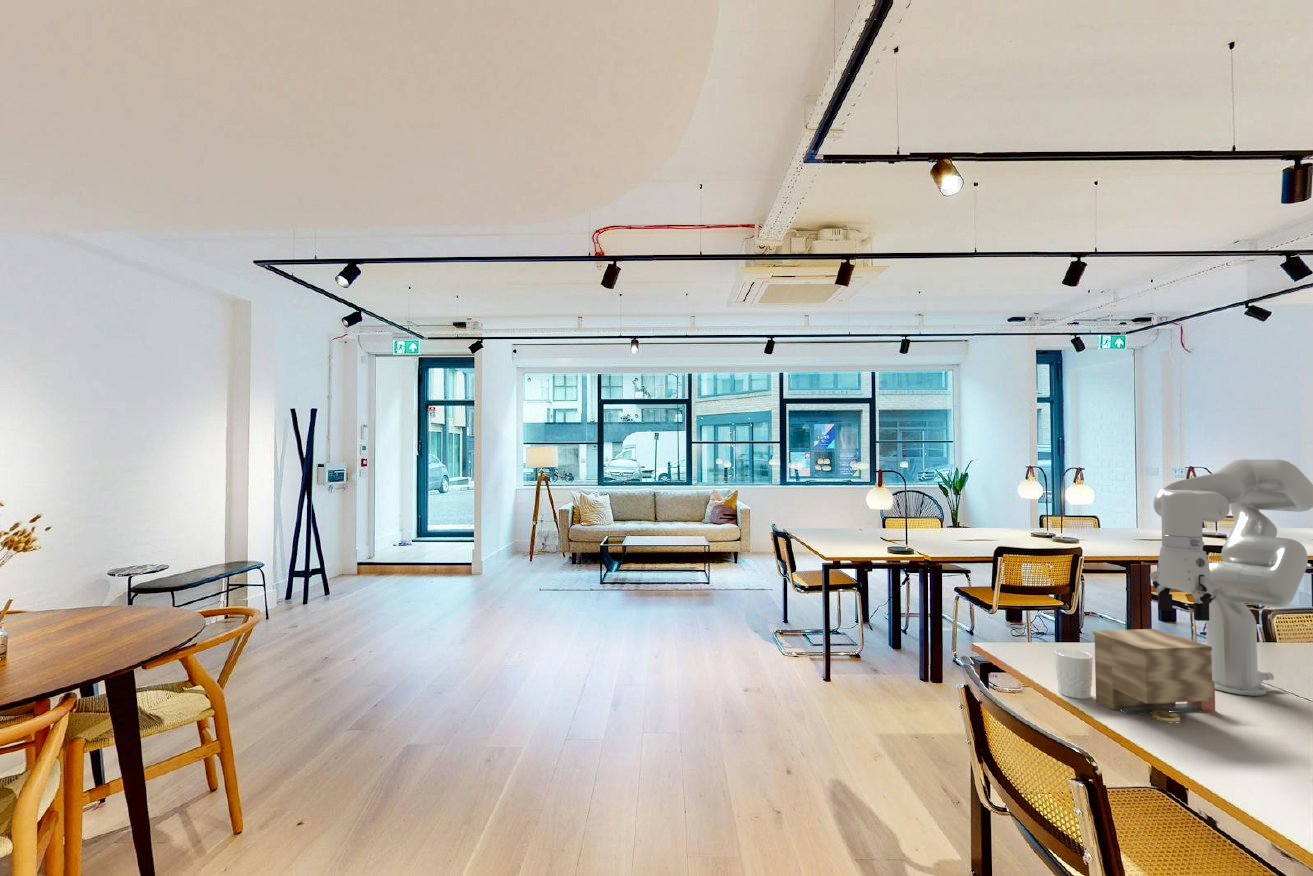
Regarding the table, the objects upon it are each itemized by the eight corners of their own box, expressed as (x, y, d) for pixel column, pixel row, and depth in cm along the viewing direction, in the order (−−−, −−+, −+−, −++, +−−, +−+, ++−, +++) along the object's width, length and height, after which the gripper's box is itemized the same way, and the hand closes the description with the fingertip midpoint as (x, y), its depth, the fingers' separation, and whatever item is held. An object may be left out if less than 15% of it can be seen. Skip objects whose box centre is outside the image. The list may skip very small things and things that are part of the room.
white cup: (1099, 701, 151) (1099, 659, 151) (1063, 699, 153) (1062, 657, 153) (1084, 689, 159) (1083, 649, 159) (1050, 687, 160) (1049, 647, 161)
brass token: (1166, 714, 144) (1165, 709, 144) (1186, 724, 139) (1186, 718, 139) (1146, 715, 144) (1145, 710, 144) (1165, 725, 139) (1165, 719, 139)
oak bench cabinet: (1156, 698, 153) (1154, 628, 153) (1214, 723, 139) (1212, 646, 139) (1093, 701, 151) (1092, 630, 152) (1146, 726, 137) (1144, 649, 138)
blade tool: (1200, 705, 149) (1200, 675, 149) (1215, 711, 145) (1214, 681, 145) (1118, 709, 146) (1117, 679, 147) (1130, 715, 143) (1130, 684, 143)
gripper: (1231, 548, 142) (1233, 624, 141) (1165, 538, 159) (1166, 607, 158) (1200, 548, 141) (1201, 624, 141) (1137, 538, 159) (1138, 606, 158)
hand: (1182, 615), depth 150 cm, fingers open, 9 cm apart
